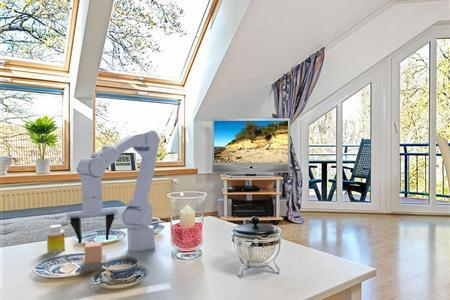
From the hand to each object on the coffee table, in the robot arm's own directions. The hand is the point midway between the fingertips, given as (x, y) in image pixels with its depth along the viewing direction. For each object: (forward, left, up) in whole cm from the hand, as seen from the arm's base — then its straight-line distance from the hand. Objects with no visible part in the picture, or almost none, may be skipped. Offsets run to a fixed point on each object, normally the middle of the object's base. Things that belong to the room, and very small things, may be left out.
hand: (93, 240), depth 98 cm
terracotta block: (0, 0, -6) cm, 6 cm away
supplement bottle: (+14, -22, -10) cm, 28 cm away
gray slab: (0, 0, -8) cm, 8 cm away
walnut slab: (0, 0, -10) cm, 10 cm away
